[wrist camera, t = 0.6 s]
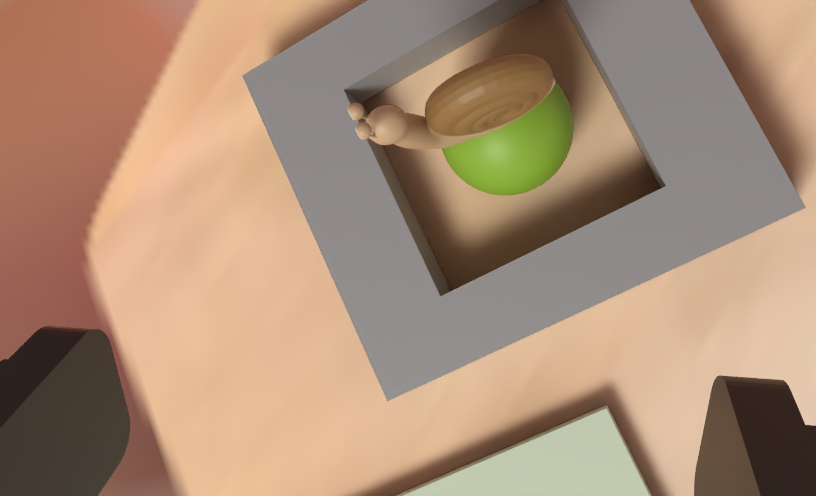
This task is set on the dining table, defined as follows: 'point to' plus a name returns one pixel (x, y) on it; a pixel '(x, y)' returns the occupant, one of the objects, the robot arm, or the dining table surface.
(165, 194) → the dining table surface
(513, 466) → the green mat
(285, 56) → the gray square frame
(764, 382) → the robot arm
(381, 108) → the snail figurine
